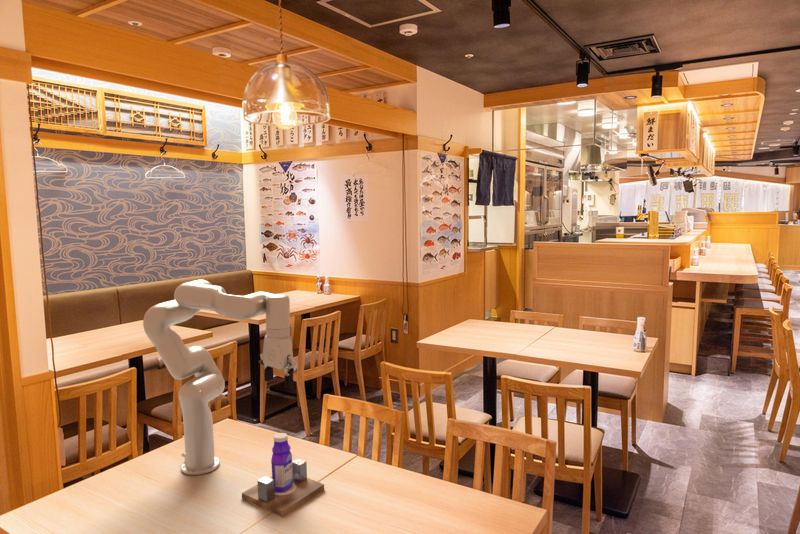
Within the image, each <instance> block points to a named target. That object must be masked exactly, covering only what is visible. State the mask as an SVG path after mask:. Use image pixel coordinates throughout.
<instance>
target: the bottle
mask: <svg viewBox="0 0 800 534" xmlns="http://www.w3.org/2000/svg"><path fill="white" fill-rule="evenodd" d="M271 452H272V455H271V456H272V457H271V460H270V463H271V476H272V479H273V480H274V491H276V492H286V491H287V490H289V489H290V488H291V486H292V483H293V472H292V461H293V455H292V451H291V446H290V444H289V442H288V433H285V432H279V433H276V434H274V436H273V446H272V448H271Z"/></svg>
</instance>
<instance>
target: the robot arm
mask: <svg viewBox="0 0 800 534" xmlns="http://www.w3.org/2000/svg"><path fill="white" fill-rule="evenodd" d="M173 298H174V299H172V300H168V301H163V302H160V303H156V304H155V305H152V306H150V308H149V309H147V311H145V314H144V317H143V321H142V323H143V324H142V325H143V329H144V332H145V334H146V336H147V338H148V339H149V341H150V342H151V344H152V345H153V346H154V347H155V349H156V351H157V352H158V354H159V356H160V358H161V360H162V362H163V364H164V365H165V367H166V369H167V371H168V372H169V374H170V375H171V376H172V377H173V379H175V380H185V379H187V378H190V377H191V376H193V375H194V377H195V378H192V379H190V380H189V381H187V382H185V383H184V384H183V385H182V386H181V387H180V389H179V392H178V401H179V405H180V409H181V413H182V421H183V423H182V424H183V435H184V437H183V438H184V451H185V452H182V453H181V457H183V458H184V462H183V463H182V464H181V466H180V467H181V472H182V473H184V474H185V475H189V476H197V475H198V476H199V475H200V476H201V475H204V474H208V473H211V472H213V471H214V470H216V469H217V468H218V467H219V466H220V464H221V463H220V459H219V458H218V456H217V457H216V456H215V455H216V454H215V437H214V422H213V413H212V411H211V409H210V407H209V405H208V404H209V402H211V401H212V400H214V399H216V398H217V397H219V396H220V395H221V394H222V393H223V392H224V391H225V386H226V384H225V383H226V382H225V379H224V377H223V374H222V372H221V371H220V369H219V368H218V366H217V364H216V362H215V360H214V359H213V356H212V355H211V353H210V351H208V350H207V349H206V348H205V347H203V346H200V345H192V346H189V347H187V346H186V345H185V343H184V340H183V339H182V338H181V336H180V335H179V334H178V333H177V332H176V331H174V329H173V330H172V329H171V326H174V325H177V324H181V323H184V322H186V321H189V320H190V319H192V318H193V317H194V316H196V315H197V314H198V313H199V312H200V311H202V310H203V311H209V312H215V313H216V314H218V315H220V316H222V317H224V318H231V319H236V320H251V319H254V318H256V317H259V316H262V315H265V336H264V338H263V344H262V345H263V347H262V353H260V354H259V356H260V360H261V361H260V362H261V364H262V365H263V366H262V369H263V370H264V381H265V382H268V381H271V380H273V379H274V369H277V370H279V371H280V370H283V372H284V374H285V375H284V376H283V377H284V388H285V389H286V388H290V387H292V386H293V385H294V374H295V373H296V371H297V368H298V366H299V362H298V361H296V359H294V353H293V343H292V338H291V320H290V319H291V317H290V316H291V315H290V314H291V313H290V311H291V310H290V309H291V307H290V306H291V305H290V303H291V301H290V297H289V296H288V294H284V293H272V292H271V293H270V292H267V291H256V292H252V293H250V294H246V295H234V294H227V291H226V289H225V288H224V287H223V286H221V285H213V284H212V283H211V282H210V281H208V280H205V279H196V280H192V281H186V282H183V283H181V284H179V285H178V286H177V287H176V288H175V290H174V294H173Z"/></svg>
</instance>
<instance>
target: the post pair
mask: <svg viewBox="0 0 800 534" xmlns="http://www.w3.org/2000/svg"><path fill="white" fill-rule="evenodd" d="M307 471H308V470H307V461H306V460H303V459H301V458H295V459H293V460H292V472H293V480H294V481H297V482H299V483H301V482H303V481H304V480H306V479H307V478H308V472H307ZM256 483H257V484H258V499H259V500H262V501H264V502H266V503H268V502H270V501H271V500H273V499H275V491H274V480H273V479H271V478H270V477H268V476H262V477H261V478H259V479H258V480H257V481H256Z"/></svg>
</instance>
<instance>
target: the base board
mask: <svg viewBox="0 0 800 534" xmlns="http://www.w3.org/2000/svg"><path fill="white" fill-rule="evenodd" d="M269 478H271V479H272V475H271V476H269ZM324 491H325V483H321V482H320V481H316V480H314V479H310V478H308V477H307V479H306V480H304V481H303V482H301V483H299V482H297V481H294V480H293V483H292V486H291V488H290V489H289V490H287V491H286V492H276V491H275V499H273V500H271V501H270V502H268V503H266V502H264V501H262V500H259V499H258V483H257V484H255V485H253V486H252V487H250V488H248V489H247V490H245V491H243V492H241V500H243V501H244V502H247V503H250V504H252V505H255V506H257V507H258V508H261V509H262V510H265V511H268V512H270V513H272V514H275V515H276V516H279V517H281V518H284V517H286V516H288V515H289V514H291V512H293V511H295V510H296V509H298V508H299V507H301V506H302V505H304V504H305V503H308V501H310V500H311V499H313V498H315V497H316V496H318V495H319V494H320V493H322V492H324Z"/></svg>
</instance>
